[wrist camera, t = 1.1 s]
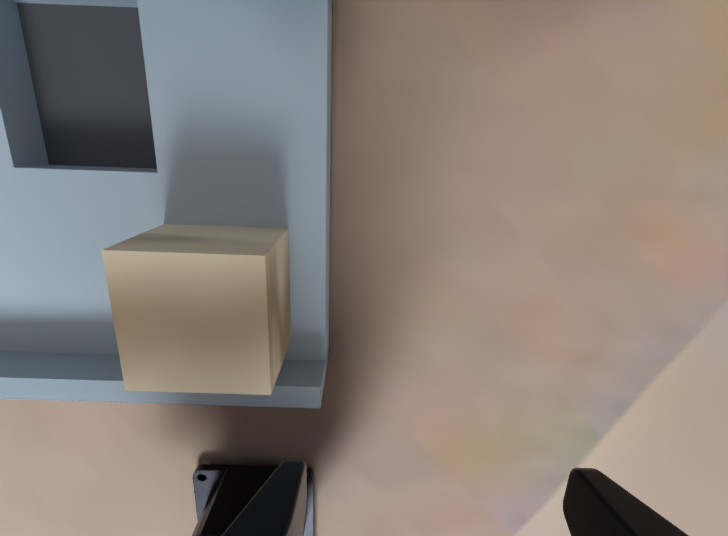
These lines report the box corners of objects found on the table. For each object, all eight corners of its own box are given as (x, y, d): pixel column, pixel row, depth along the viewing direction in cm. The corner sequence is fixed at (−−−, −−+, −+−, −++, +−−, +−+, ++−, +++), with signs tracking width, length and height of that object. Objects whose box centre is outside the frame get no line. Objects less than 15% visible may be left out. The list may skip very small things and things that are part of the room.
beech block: (291, 339, 18) (270, 395, 14) (176, 336, 18) (125, 390, 14) (288, 228, 16) (264, 255, 12) (163, 224, 16) (101, 250, 12)
